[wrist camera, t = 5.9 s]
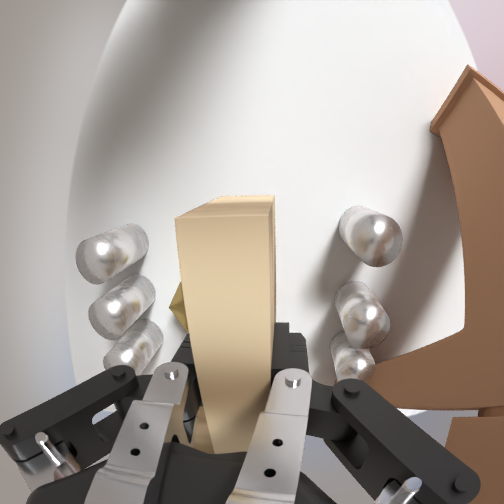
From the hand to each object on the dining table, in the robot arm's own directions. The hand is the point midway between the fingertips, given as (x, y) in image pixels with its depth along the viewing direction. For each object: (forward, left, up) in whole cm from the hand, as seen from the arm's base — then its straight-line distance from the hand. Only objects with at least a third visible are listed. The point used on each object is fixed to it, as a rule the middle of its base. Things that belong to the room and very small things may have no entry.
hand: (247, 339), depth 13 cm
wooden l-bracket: (+1, -3, -2) cm, 4 cm away
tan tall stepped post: (-1, +14, -11) cm, 18 cm away
